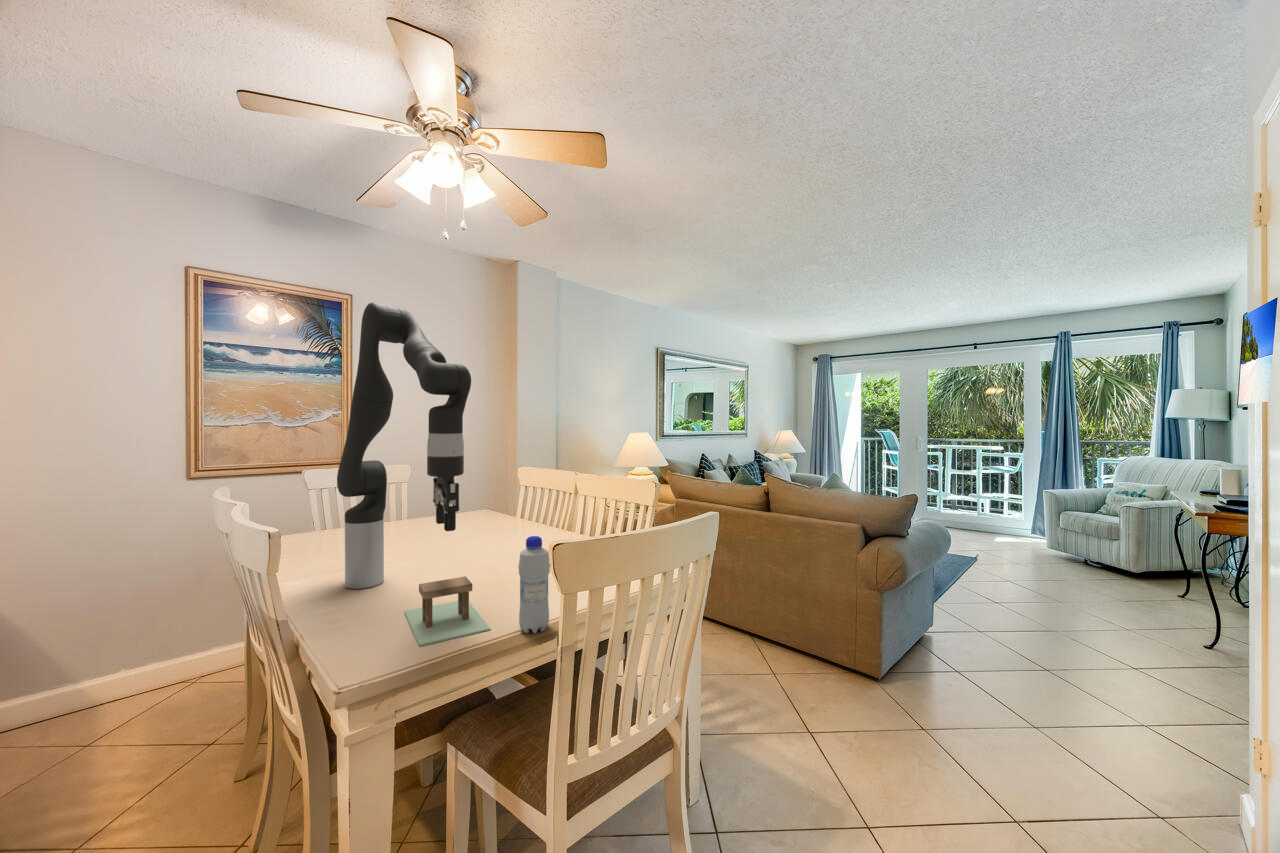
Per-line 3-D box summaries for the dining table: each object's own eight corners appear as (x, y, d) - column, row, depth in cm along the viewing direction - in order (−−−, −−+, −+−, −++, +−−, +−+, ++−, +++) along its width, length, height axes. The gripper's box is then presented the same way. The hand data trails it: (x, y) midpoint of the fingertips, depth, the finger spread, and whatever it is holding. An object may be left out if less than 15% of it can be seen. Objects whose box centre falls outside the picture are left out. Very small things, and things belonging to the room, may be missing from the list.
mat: (404, 612, 115) (404, 611, 115) (466, 600, 122) (466, 599, 122) (419, 646, 98) (419, 644, 98) (490, 630, 106) (490, 628, 106)
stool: (465, 610, 115) (465, 576, 115) (472, 619, 110) (472, 583, 110) (418, 620, 110) (418, 584, 110) (423, 629, 105) (423, 592, 105)
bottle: (518, 637, 102) (518, 541, 102) (517, 624, 109) (517, 533, 108) (551, 634, 104) (551, 539, 104) (548, 621, 110) (548, 531, 110)
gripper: (471, 455, 106) (471, 531, 106) (455, 451, 117) (455, 519, 118) (434, 456, 101) (433, 535, 102) (421, 452, 113) (421, 522, 114)
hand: (445, 526), depth 110 cm, fingers open, 8 cm apart
